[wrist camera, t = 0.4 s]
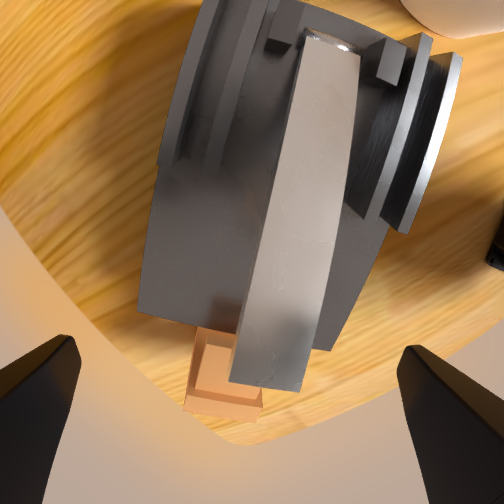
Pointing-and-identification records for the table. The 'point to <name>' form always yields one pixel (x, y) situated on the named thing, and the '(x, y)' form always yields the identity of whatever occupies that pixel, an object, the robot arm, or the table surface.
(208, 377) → the tan piece
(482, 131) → the table surface
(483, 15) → the cup
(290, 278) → the strap
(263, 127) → the slotted grey stand
